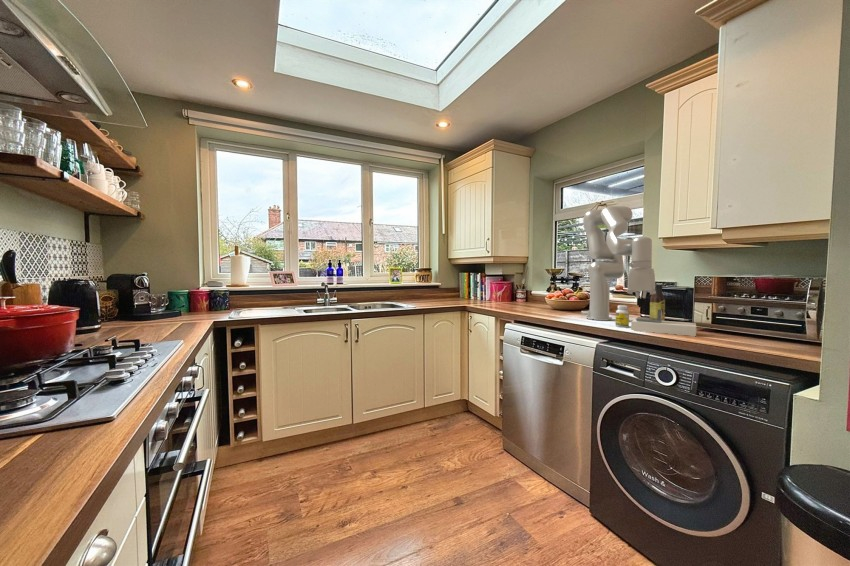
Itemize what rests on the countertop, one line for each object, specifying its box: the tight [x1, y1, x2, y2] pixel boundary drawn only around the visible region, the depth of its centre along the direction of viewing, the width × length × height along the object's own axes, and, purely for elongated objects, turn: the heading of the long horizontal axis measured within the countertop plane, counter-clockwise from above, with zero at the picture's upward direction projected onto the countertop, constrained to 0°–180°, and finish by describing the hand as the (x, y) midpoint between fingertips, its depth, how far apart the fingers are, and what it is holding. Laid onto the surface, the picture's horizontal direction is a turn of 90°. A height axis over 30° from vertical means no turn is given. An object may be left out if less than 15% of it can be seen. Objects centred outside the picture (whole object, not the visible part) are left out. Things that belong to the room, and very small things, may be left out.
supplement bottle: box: [615, 304, 630, 328], centre depth 160 cm, size 5×5×10 cm
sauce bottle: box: [649, 283, 666, 321], centre depth 171 cm, size 7×6×20 cm
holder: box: [630, 318, 697, 337], centre depth 146 cm, size 22×12×4 cm, turn 52°
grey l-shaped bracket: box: [635, 310, 662, 322], centre depth 149 cm, size 9×8×5 cm
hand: (641, 307), depth 150 cm, fingers closed
